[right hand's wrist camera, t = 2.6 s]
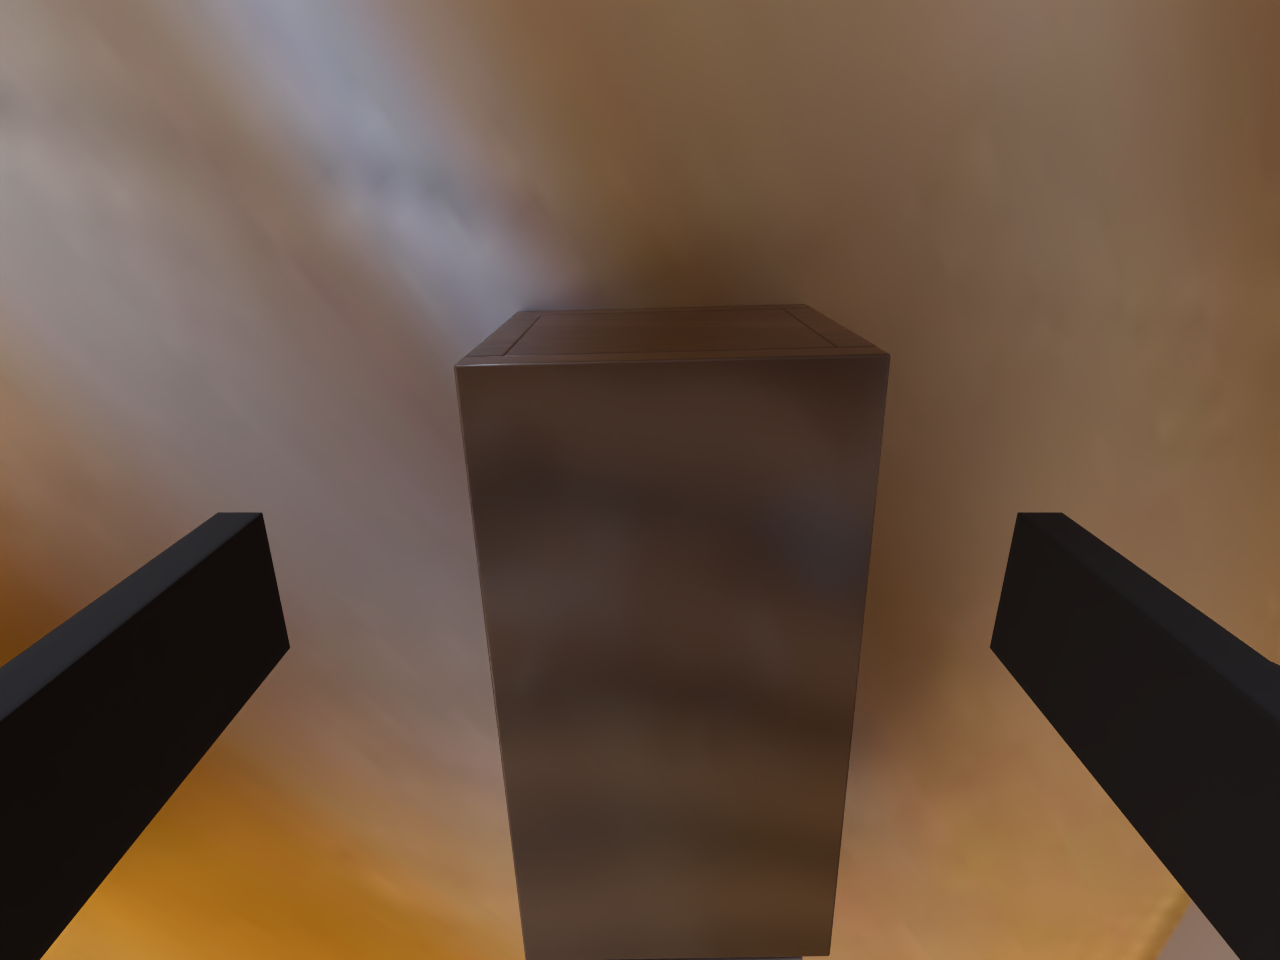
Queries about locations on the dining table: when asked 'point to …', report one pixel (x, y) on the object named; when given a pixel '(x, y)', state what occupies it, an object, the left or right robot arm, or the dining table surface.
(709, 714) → the cabinet
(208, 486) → the dining table surface
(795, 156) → the dining table surface
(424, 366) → the dining table surface
